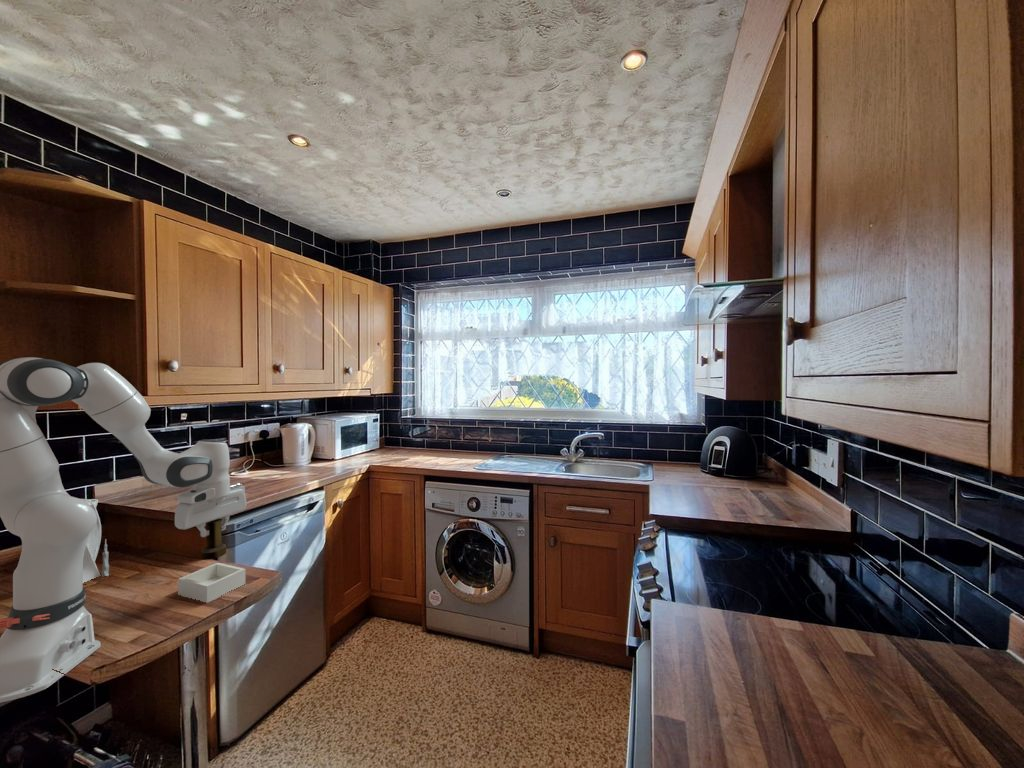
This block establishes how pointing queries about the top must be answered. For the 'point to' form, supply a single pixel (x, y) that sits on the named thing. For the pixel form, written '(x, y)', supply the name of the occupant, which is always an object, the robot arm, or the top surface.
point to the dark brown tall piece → (213, 541)
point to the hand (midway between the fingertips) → (213, 533)
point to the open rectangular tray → (211, 582)
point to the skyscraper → (94, 550)
